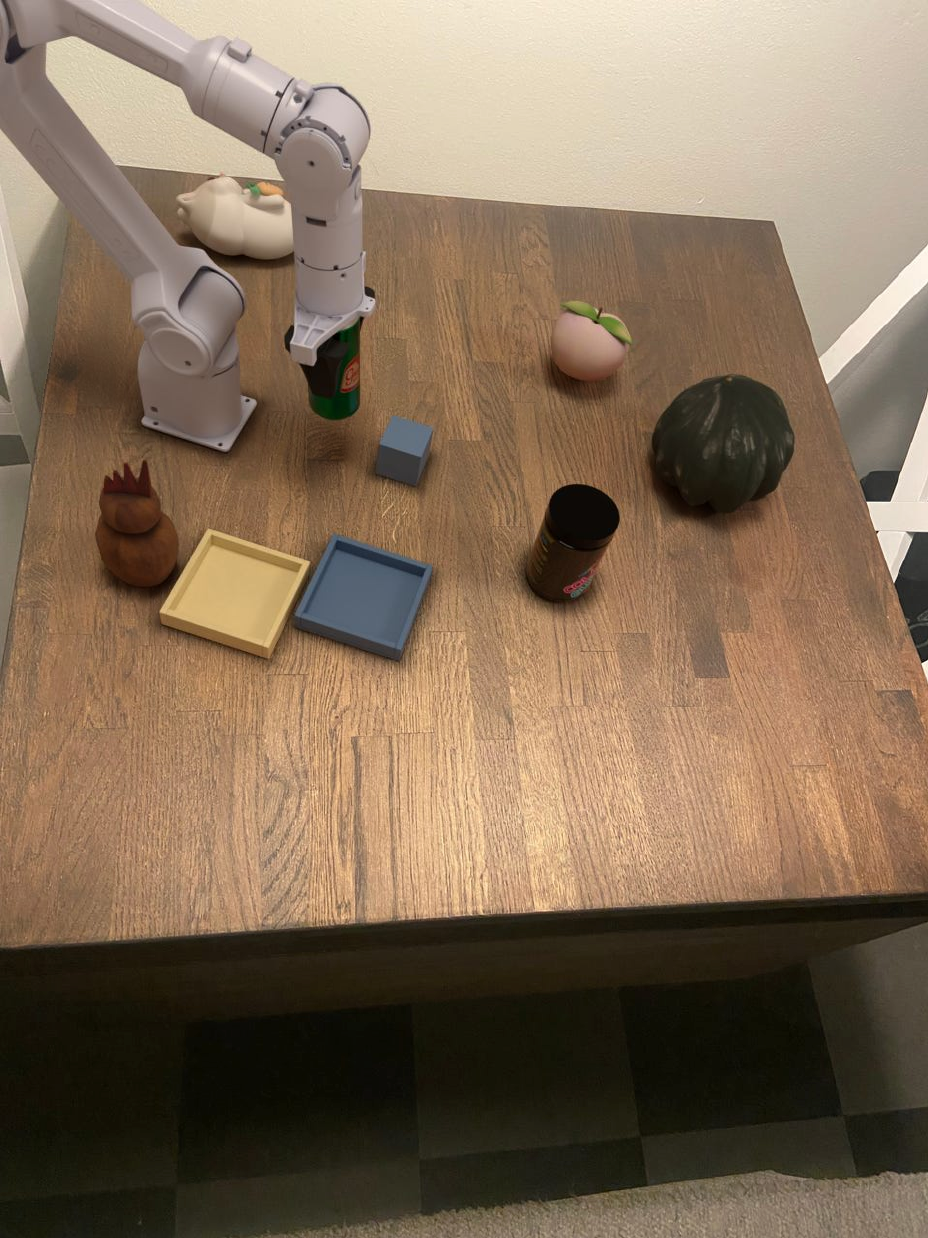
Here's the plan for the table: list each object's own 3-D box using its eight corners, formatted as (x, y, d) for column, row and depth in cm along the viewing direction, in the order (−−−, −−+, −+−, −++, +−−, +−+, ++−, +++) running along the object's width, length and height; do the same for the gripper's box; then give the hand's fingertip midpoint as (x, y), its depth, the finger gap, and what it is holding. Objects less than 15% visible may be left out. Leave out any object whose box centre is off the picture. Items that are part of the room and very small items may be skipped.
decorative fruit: (529, 383, 107) (549, 314, 99) (551, 343, 112) (572, 274, 104) (603, 413, 107) (630, 346, 98) (622, 372, 111) (649, 304, 103)
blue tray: (293, 627, 84) (294, 615, 83) (332, 545, 90) (333, 533, 88) (399, 661, 84) (401, 650, 82) (430, 577, 90) (433, 565, 88)
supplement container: (547, 614, 90) (575, 550, 81) (511, 563, 92) (534, 496, 84) (601, 591, 92) (634, 526, 84) (565, 542, 95) (593, 475, 86)
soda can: (353, 428, 90) (351, 327, 80) (303, 418, 90) (295, 316, 80) (365, 394, 92) (365, 292, 83) (317, 384, 93) (311, 281, 83)
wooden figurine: (193, 560, 86) (177, 449, 74) (162, 606, 83) (140, 498, 71) (127, 534, 87) (101, 420, 74) (94, 579, 83) (60, 468, 71)
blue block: (375, 473, 96) (378, 443, 92) (388, 444, 98) (392, 414, 95) (415, 486, 96) (421, 457, 92) (428, 457, 98) (433, 427, 95)
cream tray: (161, 624, 82) (158, 611, 80) (209, 540, 88) (208, 527, 86) (268, 659, 82) (268, 647, 80) (309, 573, 88) (310, 561, 86)
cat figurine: (312, 179, 106) (178, 150, 102) (307, 247, 106) (171, 221, 102) (304, 216, 116) (180, 191, 112) (298, 278, 115) (174, 255, 111)
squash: (830, 467, 100) (801, 336, 93) (758, 540, 93) (720, 405, 86) (721, 467, 111) (687, 350, 104) (648, 532, 104) (607, 411, 97)
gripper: (345, 312, 72) (348, 437, 84) (399, 214, 81) (394, 339, 92) (261, 292, 73) (275, 418, 84) (322, 196, 81) (327, 323, 92)
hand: (332, 376), depth 88 cm, fingers closed on soda can, 5 cm apart
